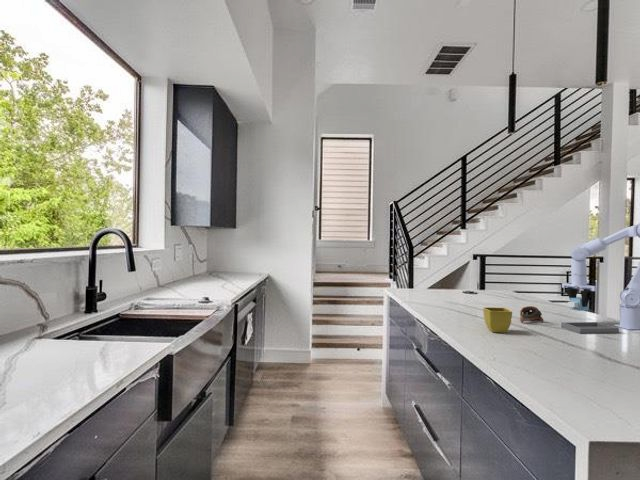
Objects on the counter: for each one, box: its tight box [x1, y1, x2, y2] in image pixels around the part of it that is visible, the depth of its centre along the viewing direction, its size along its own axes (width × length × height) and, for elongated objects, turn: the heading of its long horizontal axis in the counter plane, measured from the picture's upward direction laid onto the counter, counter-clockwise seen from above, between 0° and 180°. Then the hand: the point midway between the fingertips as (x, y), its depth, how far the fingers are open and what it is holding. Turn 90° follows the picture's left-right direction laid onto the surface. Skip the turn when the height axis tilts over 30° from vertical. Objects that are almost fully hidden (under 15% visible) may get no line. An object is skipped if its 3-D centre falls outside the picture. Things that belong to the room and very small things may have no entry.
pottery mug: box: [519, 305, 545, 324], centre depth 180 cm, size 12×10×8 cm
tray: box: [560, 321, 620, 335], centre depth 164 cm, size 16×12×2 cm
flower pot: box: [483, 306, 513, 334], centre depth 162 cm, size 9×9×9 cm
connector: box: [567, 296, 590, 312], centre depth 177 cm, size 10×4×5 cm, turn 113°
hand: (579, 305), depth 177 cm, fingers closed on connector, 4 cm apart
